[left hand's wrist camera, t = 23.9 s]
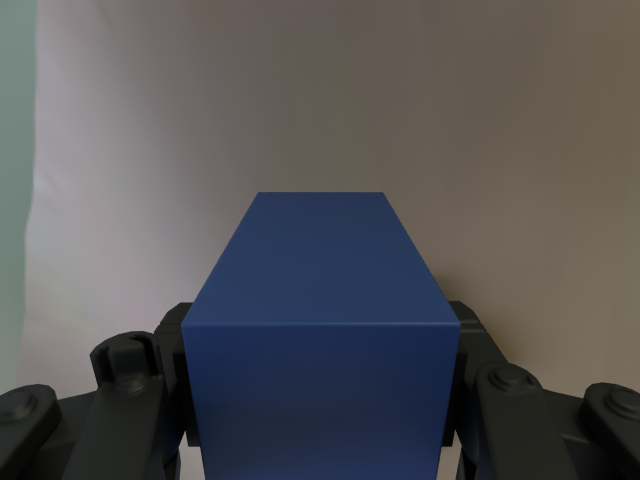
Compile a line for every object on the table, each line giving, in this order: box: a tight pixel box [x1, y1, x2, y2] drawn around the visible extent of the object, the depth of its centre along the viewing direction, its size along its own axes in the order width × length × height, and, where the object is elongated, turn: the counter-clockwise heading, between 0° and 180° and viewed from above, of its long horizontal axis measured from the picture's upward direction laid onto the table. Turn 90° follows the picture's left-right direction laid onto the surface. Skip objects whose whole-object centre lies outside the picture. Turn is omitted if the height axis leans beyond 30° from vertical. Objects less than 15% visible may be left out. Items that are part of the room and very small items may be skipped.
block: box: [181, 192, 461, 480], centre depth 11 cm, size 5×6×9 cm
